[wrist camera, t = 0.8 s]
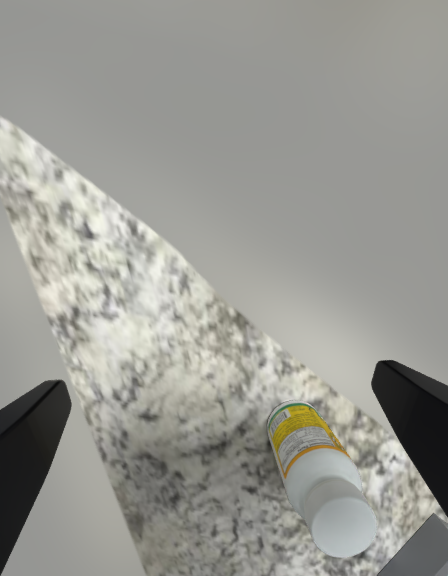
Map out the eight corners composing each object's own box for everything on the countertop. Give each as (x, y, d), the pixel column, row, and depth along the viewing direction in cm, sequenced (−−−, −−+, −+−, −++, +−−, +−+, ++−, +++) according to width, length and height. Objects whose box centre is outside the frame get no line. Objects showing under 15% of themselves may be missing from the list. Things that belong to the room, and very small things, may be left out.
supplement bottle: (265, 400, 24) (299, 489, 15) (320, 396, 24) (389, 482, 15) (267, 452, 25) (300, 572, 15) (321, 448, 25) (388, 564, 15)
